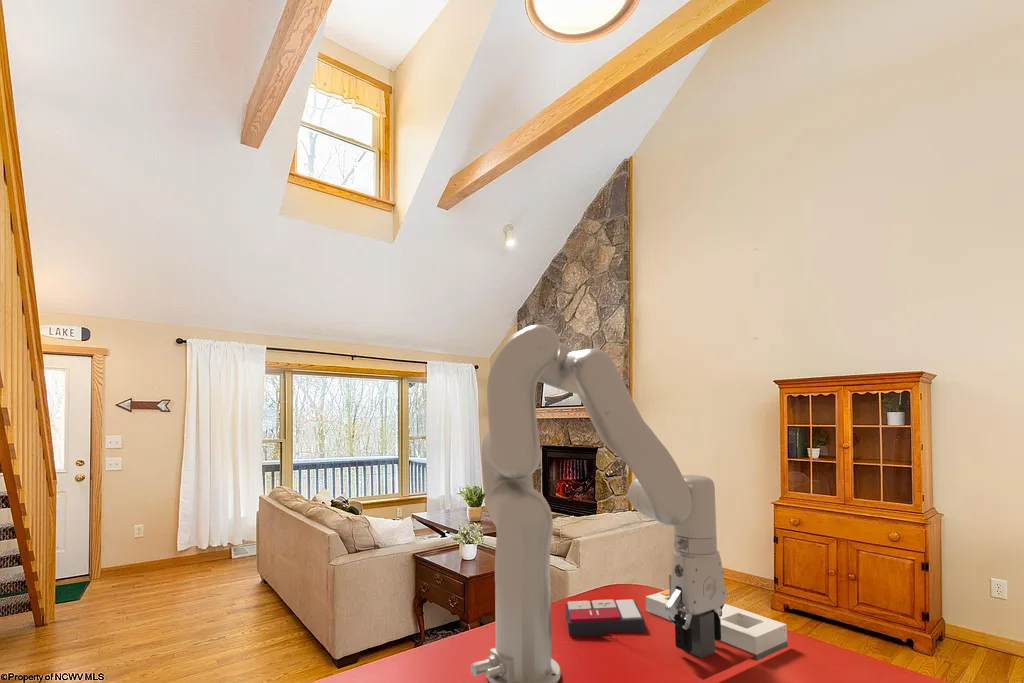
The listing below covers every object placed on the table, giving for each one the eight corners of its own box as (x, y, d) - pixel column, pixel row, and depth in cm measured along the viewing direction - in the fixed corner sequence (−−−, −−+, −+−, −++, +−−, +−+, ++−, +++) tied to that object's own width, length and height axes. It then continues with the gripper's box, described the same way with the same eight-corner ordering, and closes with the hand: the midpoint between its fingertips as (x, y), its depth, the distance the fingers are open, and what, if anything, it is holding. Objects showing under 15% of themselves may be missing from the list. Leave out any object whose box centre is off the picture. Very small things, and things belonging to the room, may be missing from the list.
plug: (701, 664, 104) (699, 617, 104) (683, 655, 107) (681, 610, 108) (715, 658, 106) (713, 612, 107) (697, 650, 109) (695, 605, 110)
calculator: (564, 599, 127) (634, 596, 126) (566, 620, 126) (635, 616, 126) (568, 619, 116) (644, 615, 115) (569, 641, 116) (646, 638, 115)
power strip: (756, 660, 105) (755, 635, 105) (646, 615, 126) (645, 595, 126) (787, 646, 110) (786, 622, 111) (676, 605, 132) (676, 585, 132)
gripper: (680, 556, 100) (684, 664, 99) (741, 541, 110) (745, 638, 108) (647, 547, 106) (650, 648, 105) (707, 533, 116) (711, 625, 115)
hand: (698, 642), depth 107 cm, fingers open, 7 cm apart
